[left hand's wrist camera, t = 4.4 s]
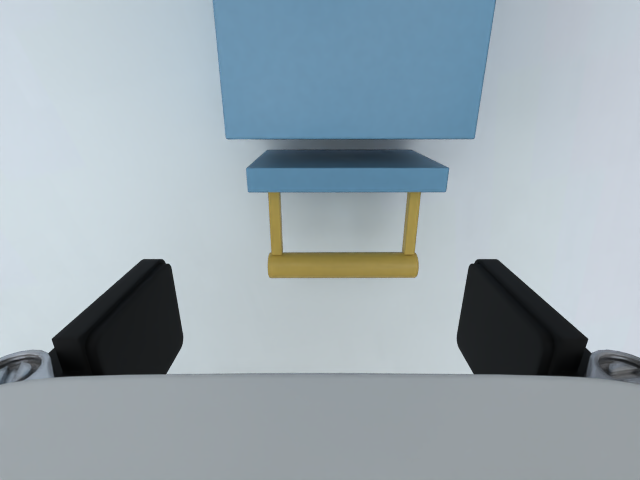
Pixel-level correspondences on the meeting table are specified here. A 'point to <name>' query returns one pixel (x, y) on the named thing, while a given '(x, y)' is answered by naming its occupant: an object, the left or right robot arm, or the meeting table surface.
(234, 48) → the cabinet
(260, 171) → the drawer
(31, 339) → the meeting table surface
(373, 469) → the left robot arm
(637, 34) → the meeting table surface
